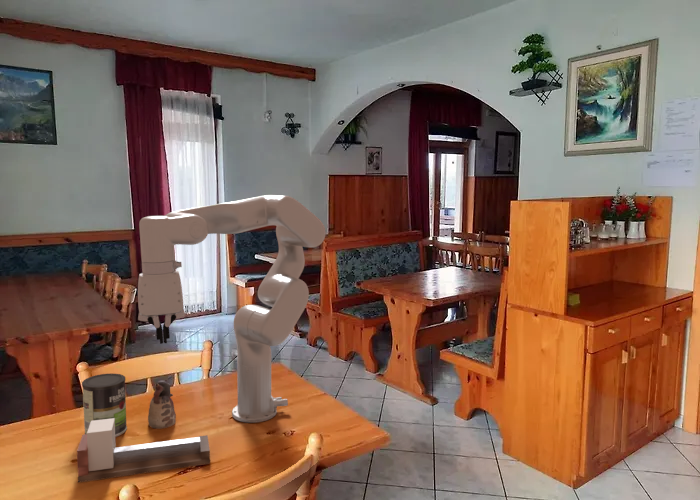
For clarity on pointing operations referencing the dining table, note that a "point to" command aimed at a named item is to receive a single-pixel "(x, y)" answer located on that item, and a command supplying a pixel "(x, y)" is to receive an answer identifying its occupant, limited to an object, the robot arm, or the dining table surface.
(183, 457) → the board
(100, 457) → the block
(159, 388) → the figurine
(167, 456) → the beam
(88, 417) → the coffee can
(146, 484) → the dining table surface
